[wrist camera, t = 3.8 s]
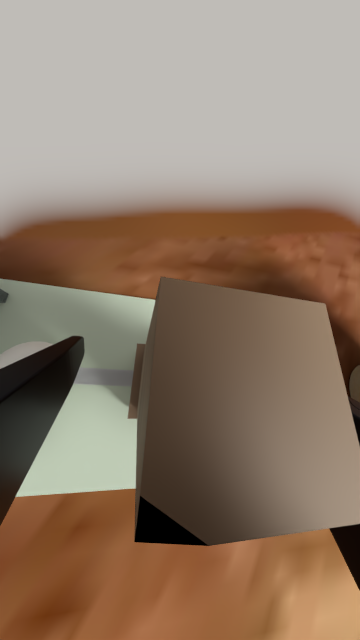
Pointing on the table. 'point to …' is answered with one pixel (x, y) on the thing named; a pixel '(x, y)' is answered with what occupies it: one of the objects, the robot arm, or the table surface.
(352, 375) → the plant pot
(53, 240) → the table surface
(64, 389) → the robot arm
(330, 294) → the table surface
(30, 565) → the table surface
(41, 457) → the pitch
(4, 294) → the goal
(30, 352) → the ball
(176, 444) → the block
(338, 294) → the table surface
